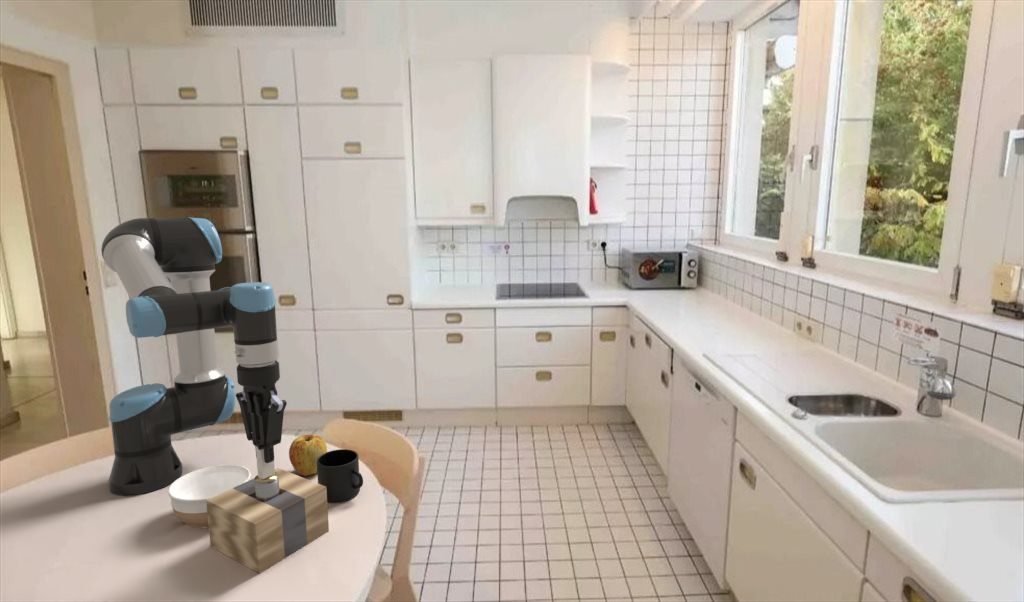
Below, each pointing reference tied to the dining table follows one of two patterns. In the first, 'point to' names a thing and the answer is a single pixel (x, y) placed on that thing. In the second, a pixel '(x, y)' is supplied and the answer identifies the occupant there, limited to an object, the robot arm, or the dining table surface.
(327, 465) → the mug
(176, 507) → the bowl
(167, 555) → the dining table surface
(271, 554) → the socket block
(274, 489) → the peg
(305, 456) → the apple
